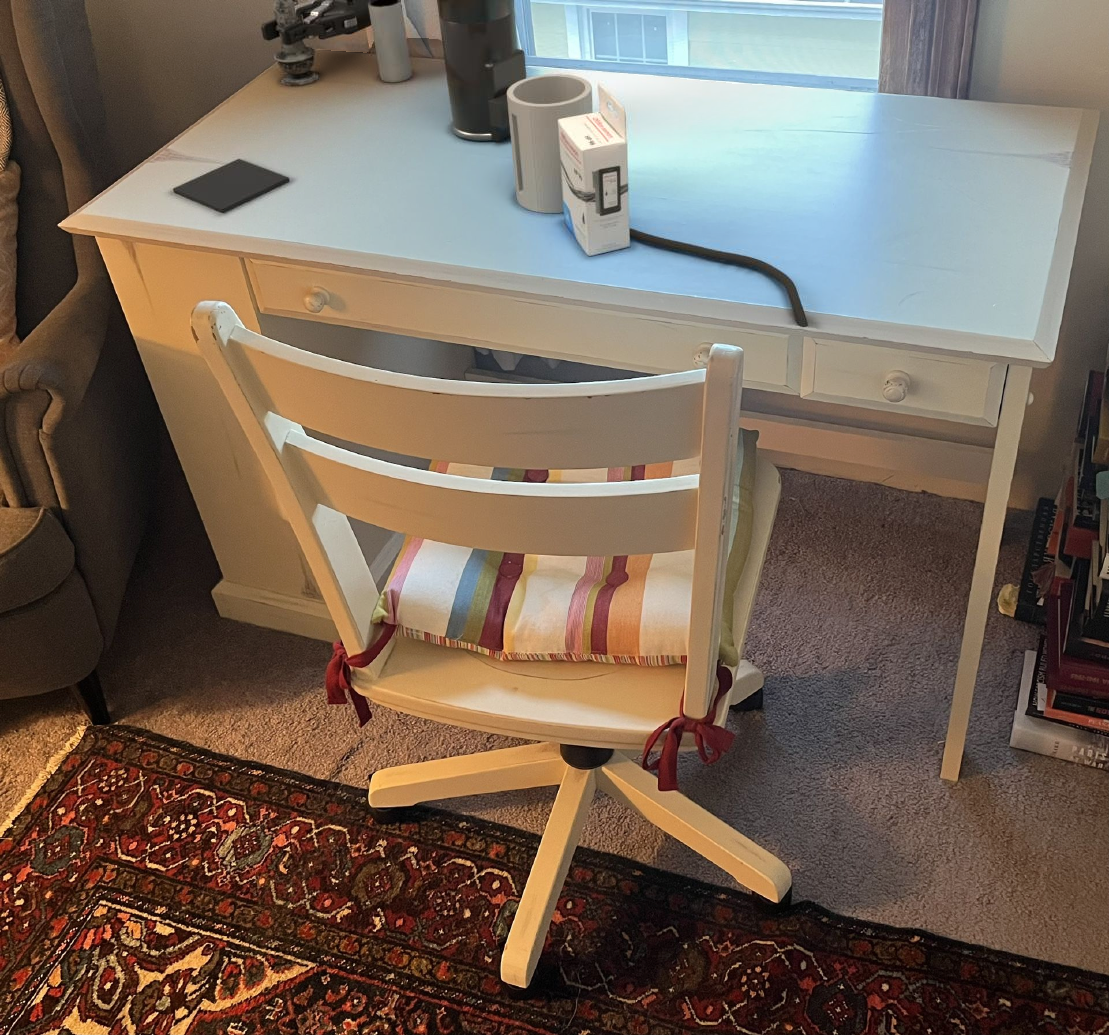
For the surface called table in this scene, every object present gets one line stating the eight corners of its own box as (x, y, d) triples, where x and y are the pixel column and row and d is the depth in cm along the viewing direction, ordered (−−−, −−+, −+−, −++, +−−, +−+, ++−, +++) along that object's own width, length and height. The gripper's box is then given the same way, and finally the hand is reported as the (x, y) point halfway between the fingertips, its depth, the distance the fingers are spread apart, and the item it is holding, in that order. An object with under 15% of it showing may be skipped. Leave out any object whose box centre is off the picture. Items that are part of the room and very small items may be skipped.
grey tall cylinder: (404, 83, 154) (392, 7, 147) (375, 81, 155) (362, 5, 148) (417, 72, 157) (406, -4, 150) (388, 70, 158) (376, -5, 151)
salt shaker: (326, 71, 160) (308, -16, 152) (311, 87, 155) (291, -2, 147) (289, 71, 161) (269, -16, 153) (273, 86, 157) (252, -2, 149)
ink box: (562, 223, 120) (553, 89, 110) (604, 214, 121) (599, 80, 111) (587, 258, 114) (580, 119, 104) (632, 248, 114) (629, 109, 105)
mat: (289, 181, 132) (288, 177, 132) (223, 213, 127) (221, 209, 127) (239, 162, 138) (238, 158, 137) (173, 192, 132) (172, 188, 132)
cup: (610, 185, 126) (606, 81, 118) (569, 219, 120) (562, 111, 112) (544, 171, 130) (536, 69, 122) (501, 203, 124) (490, 98, 116)
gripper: (323, -34, 162) (233, 0, 153) (390, -22, 155) (302, 14, 146) (333, 18, 167) (247, 54, 158) (399, 32, 160) (314, 71, 151)
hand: (274, 35), depth 152 cm, fingers closed on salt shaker, 3 cm apart
